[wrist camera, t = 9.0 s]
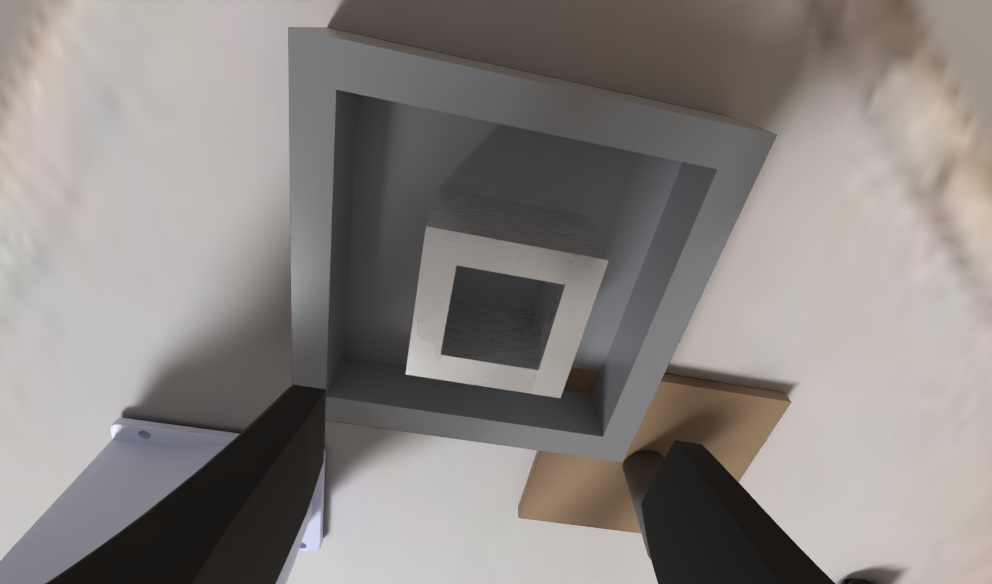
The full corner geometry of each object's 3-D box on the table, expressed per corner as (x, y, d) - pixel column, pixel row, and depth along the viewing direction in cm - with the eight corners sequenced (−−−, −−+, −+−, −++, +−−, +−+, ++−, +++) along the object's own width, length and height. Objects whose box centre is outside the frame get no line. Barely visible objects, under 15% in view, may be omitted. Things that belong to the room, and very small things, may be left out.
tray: (318, 365, 20) (292, 415, 18) (326, 27, 14) (288, 27, 12) (607, 409, 22) (622, 462, 19) (729, 116, 16) (776, 134, 13)
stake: (518, 507, 25) (523, 604, 21) (569, 358, 20) (588, 444, 16) (695, 530, 26) (734, 626, 22) (784, 392, 21) (855, 482, 17)
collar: (420, 315, 18) (405, 374, 15) (439, 187, 16) (426, 226, 13) (549, 337, 19) (560, 398, 16) (587, 216, 17) (609, 260, 13)
